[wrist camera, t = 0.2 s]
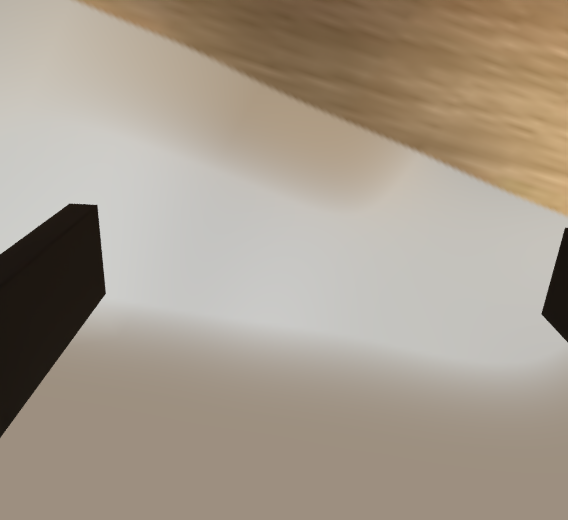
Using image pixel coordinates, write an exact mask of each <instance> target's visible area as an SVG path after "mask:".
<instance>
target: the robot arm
mask: <svg viewBox="0 0 568 520" xmlns="http://www.w3.org/2000/svg"><path fill="white" fill-rule="evenodd" d="M105 294H106V292H105V281H104V271H103V260H102V250H101V239H100V229H99V218H98V208H97V205H86V204H69V205H67V206H66V207H64V208H63V209H62V210H60V211H59V212H58V213H56V214H55V215H53V216H52V217H51V218H49V219H48V220H47V221H46V222H44V223H43V224H41V225H40V226H38V227H37V228H36V229H34V230H33V231H32V232H30V233H29V234H28V235H26V236H25V237H24V238H23V239H21V240H19V241H18V242H17V243H15V244H14V245H13V246H11V247H10V248H8V249H7V250H6V251H4V252H3V253H2V254H0V437H1V436H2V435H3V433H4V432H5V431H6V429H7V428H8V426H9V425H10V424H11V422H12V421H13V420H14V418H15V417H16V415H17V414H18V413H19V411H20V410H21V409H22V407H23V406H24V404H25V403H26V402H27V400H28V399H29V398H30V396H31V395H32V394H33V392H34V391H35V390H36V388H37V387H38V385H39V384H40V383H41V381H42V380H43V379H44V377H45V376H46V374H47V373H48V372H49V370H50V369H51V368H52V366H53V365H54V364H55V362H56V361H57V360H58V358H59V357H60V355H61V354H62V353H63V351H64V350H65V349H66V347H67V346H68V344H69V343H70V342H71V340H72V339H73V338H74V336H75V335H76V334H77V332H78V331H79V329H80V328H81V327H82V325H83V324H84V323H85V321H86V320H87V319H88V317H89V316H90V314H91V313H92V311H93V310H94V309H95V308H96V306H97V305H98V303H99V302H100V301H101V299H102V298H103V297H104V295H105ZM542 315H543V316H544V317H545V318H546V320H547V321H548V322H549V323H550V324H551V325H552V326H553V327H554V328H555V329H556V330H557V331H558V332H559V333H560V335H561V336H562V337H563V338H564V339H565V340H566V341H567V342H568V228H565V230H564V234H563V238H562V241H561V245H560V248H559V252H558V256H557V260H556V263H555V267H554V270H553V274H552V278H551V282H550V285H549V289H548V292H547V296H546V300H545V303H544V307H543V311H542Z"/></svg>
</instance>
